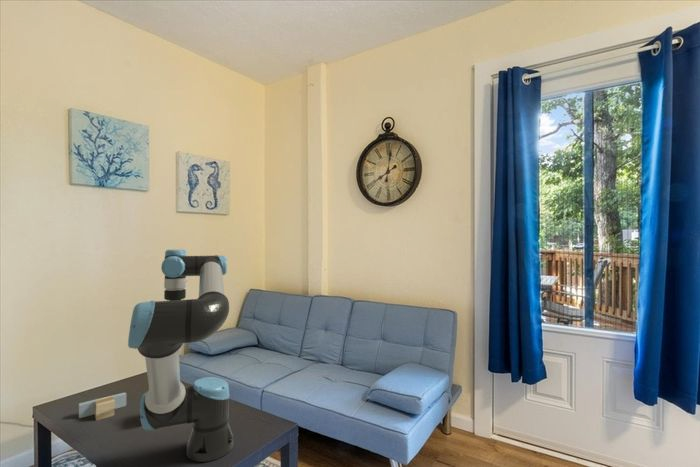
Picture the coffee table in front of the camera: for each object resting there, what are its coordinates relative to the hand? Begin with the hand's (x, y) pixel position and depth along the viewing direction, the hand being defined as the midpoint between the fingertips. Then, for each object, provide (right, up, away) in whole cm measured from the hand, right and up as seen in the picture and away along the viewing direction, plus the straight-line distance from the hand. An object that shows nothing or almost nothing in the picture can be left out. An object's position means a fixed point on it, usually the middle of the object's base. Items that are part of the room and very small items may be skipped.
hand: (174, 349), depth 137 cm
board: (-34, -29, +9) cm, 45 cm away
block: (-31, -29, +6) cm, 43 cm away
